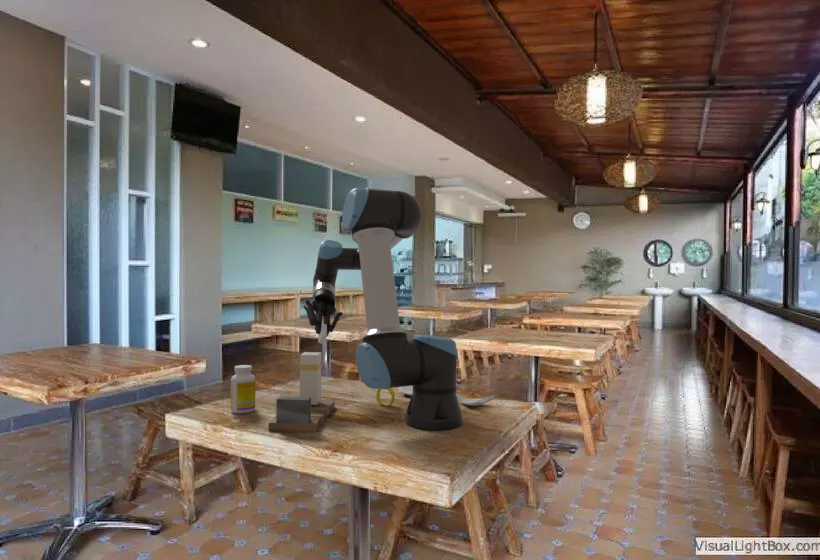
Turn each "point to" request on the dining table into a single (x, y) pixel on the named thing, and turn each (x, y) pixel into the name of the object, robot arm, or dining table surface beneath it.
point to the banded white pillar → (310, 376)
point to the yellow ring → (380, 399)
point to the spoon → (470, 402)
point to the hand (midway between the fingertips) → (322, 339)
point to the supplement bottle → (243, 390)
